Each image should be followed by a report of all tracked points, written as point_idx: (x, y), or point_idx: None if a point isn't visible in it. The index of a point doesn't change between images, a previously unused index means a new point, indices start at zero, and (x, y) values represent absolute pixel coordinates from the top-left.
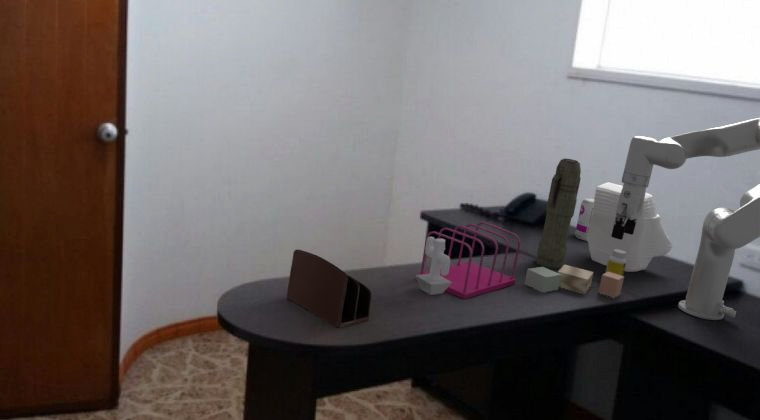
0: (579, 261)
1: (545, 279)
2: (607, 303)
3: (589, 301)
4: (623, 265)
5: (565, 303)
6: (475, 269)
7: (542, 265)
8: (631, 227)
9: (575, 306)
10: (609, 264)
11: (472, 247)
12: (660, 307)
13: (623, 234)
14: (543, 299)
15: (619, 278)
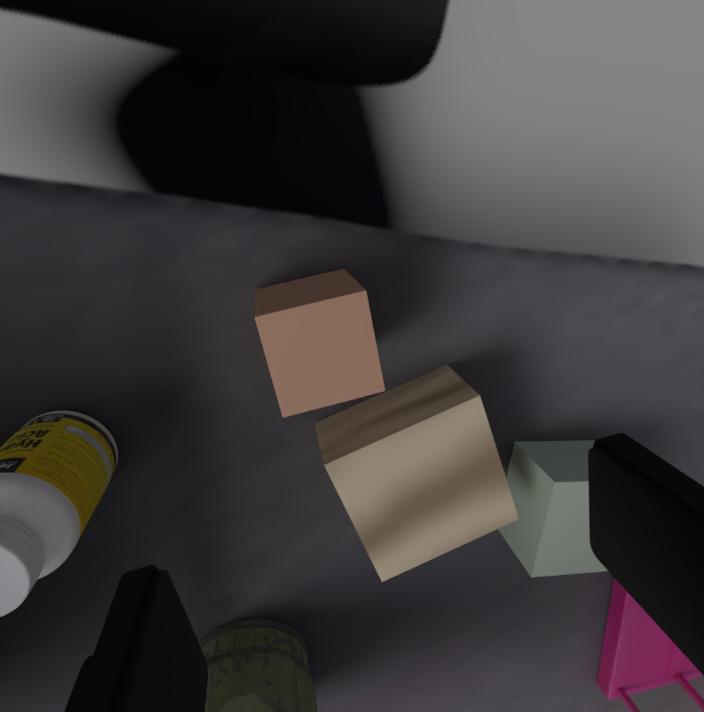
0: (21, 674)
1: None
2: (449, 242)
3: (511, 298)
4: (20, 465)
5: (634, 326)
6: (667, 639)
7: (308, 653)
8: (155, 686)
9: (630, 286)
10: (88, 520)
11: None
12: (167, 39)
13: (660, 471)
14: (670, 389)
15: (334, 305)
